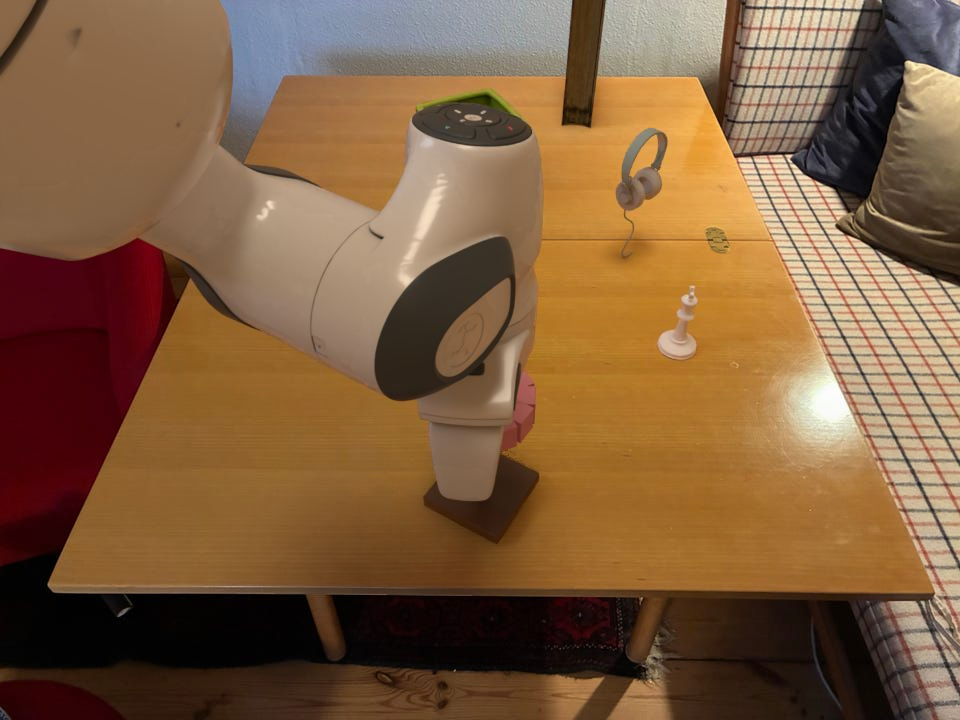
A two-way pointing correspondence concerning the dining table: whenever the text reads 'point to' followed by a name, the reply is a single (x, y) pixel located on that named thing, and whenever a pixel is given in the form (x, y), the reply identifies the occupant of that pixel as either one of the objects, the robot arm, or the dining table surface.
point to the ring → (521, 414)
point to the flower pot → (476, 101)
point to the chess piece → (680, 331)
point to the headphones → (640, 175)
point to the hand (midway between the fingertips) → (477, 436)
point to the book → (582, 60)
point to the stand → (489, 501)
